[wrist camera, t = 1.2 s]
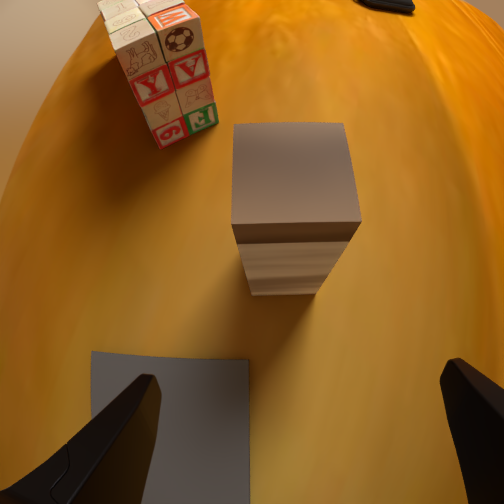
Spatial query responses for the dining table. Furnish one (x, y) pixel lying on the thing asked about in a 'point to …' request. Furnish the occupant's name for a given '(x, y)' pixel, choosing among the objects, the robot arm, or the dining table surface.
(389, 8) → the carrying case or bag
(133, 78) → the stack of blocks
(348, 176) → the tall pale block
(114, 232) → the dining table surface
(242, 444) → the dark gray tapered panel
